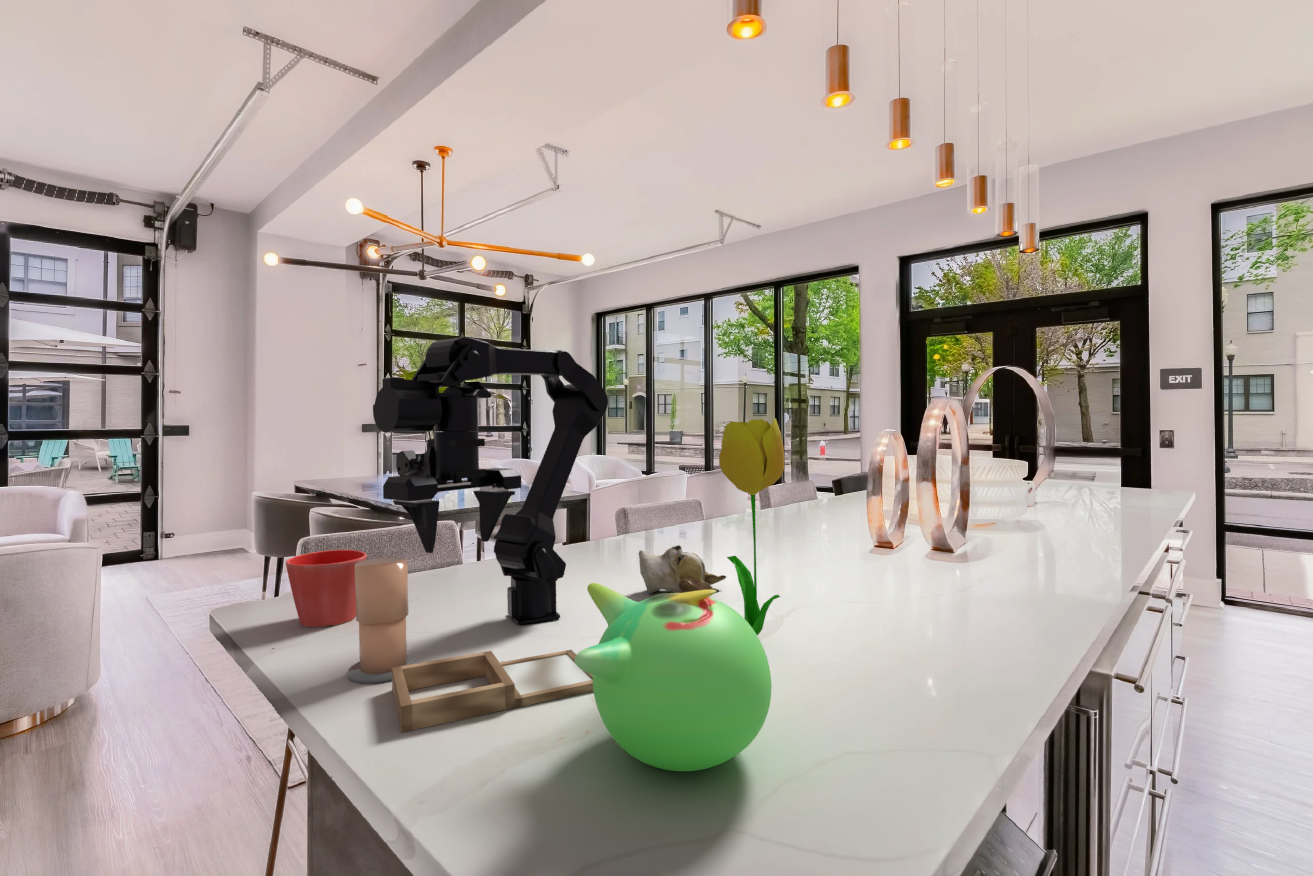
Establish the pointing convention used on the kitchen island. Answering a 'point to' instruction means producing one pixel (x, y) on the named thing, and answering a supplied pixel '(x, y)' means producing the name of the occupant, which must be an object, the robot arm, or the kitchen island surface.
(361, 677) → the slate saucer
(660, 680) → the green round bird toy
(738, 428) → the flower
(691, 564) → the ceramic sculpture
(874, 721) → the kitchen island surface
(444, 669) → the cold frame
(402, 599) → the tan stacked cylinder
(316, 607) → the flower pot
